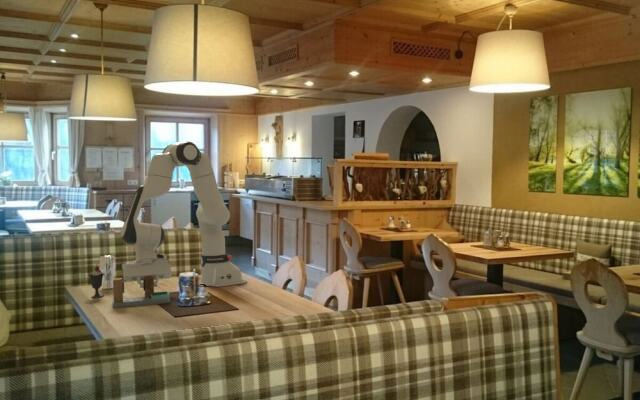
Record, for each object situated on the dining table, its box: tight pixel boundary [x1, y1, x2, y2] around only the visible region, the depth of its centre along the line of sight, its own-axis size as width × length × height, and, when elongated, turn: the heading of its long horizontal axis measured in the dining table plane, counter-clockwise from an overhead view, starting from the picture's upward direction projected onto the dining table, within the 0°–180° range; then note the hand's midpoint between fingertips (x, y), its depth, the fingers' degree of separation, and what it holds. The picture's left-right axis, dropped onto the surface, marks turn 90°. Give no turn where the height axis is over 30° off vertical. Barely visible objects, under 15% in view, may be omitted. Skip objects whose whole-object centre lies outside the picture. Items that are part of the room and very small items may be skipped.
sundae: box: [88, 263, 104, 299], centre depth 253 cm, size 7×7×15 cm
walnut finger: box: [142, 276, 155, 297], centre depth 251 cm, size 4×4×9 cm
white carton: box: [99, 254, 116, 290], centre depth 274 cm, size 7×7×15 cm
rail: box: [112, 277, 171, 309], centre depth 239 cm, size 22×7×11 cm, turn 111°
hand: (148, 286), depth 250 cm, fingers closed on walnut finger, 4 cm apart
